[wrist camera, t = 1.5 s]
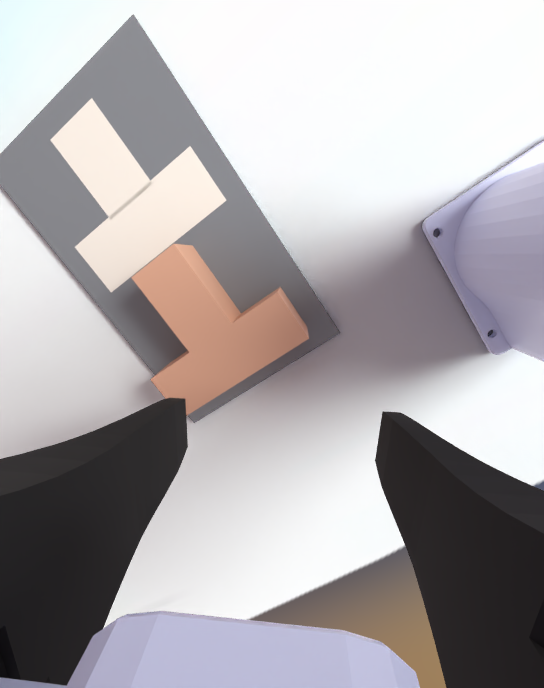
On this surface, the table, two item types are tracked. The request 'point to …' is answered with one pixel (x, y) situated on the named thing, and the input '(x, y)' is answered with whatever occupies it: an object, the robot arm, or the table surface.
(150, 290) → the t block
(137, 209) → the t mat
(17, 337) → the table surface
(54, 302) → the table surface
